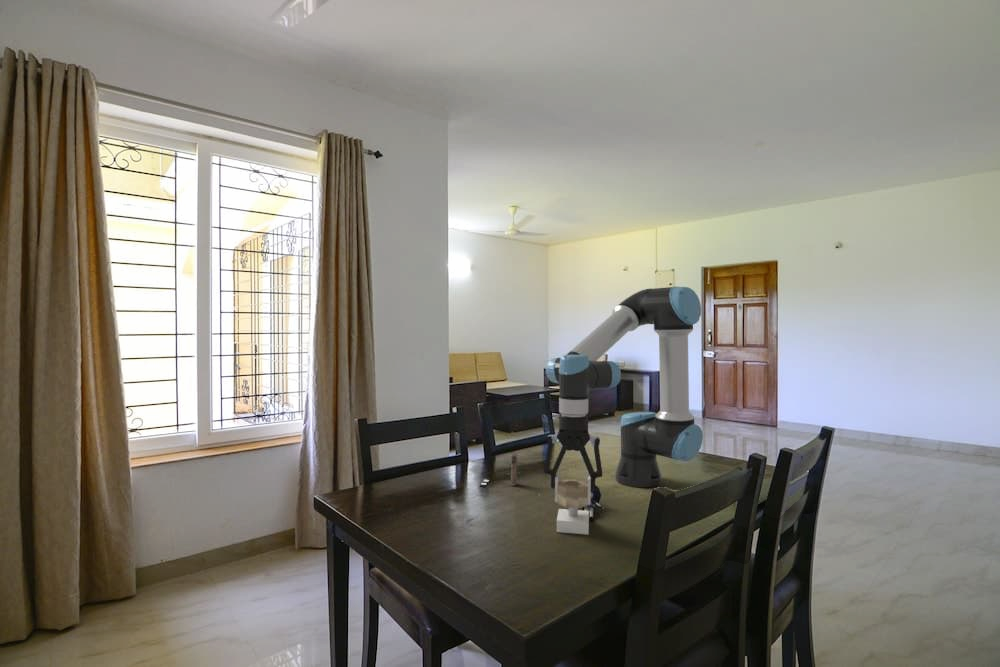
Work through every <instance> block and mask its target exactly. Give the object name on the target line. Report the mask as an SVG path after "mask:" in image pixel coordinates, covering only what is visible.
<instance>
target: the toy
mask: <svg viewBox="0 0 1000 667" xmlns="http://www.w3.org/2000/svg"><path fill="white" fill-rule="evenodd" d="M586 482H587V483H588V481H586ZM601 497H602V493H601V490H600V487H599V486H597V484H595V491H591V503H590V505H588V506H585V507H582V508H581V510H583V511H589V523H593V520H594V514H595V512H596V506H598V507H599V508H601V509H602V510H604V508H605V507H604V506H603V505H602V504H599V503H600V501H601Z"/></svg>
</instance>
